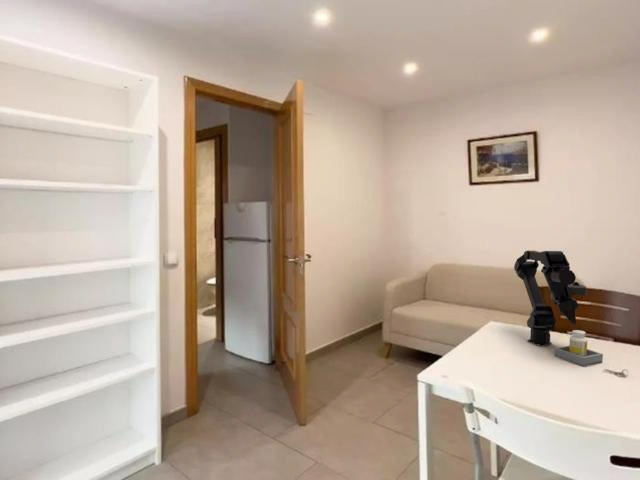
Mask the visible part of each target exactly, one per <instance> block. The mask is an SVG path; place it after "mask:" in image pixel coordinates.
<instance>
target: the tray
mask: <svg viewBox="0 0 640 480" xmlns="http://www.w3.org/2000/svg"><path fill="white" fill-rule="evenodd" d="M569 347H570V344H569V345H565V346H559V347H555V348H554V357H556V358H558V359H562V360H564V361H567V362H570V363H573V364H575V365H577V366H580V367H587V366H592V365H597V364H601V363H603V359H604V356H603V355H604V354H603V353H602V352H598V351H594V350H591V349H589V348H587V356H585V357H581V356H578V355H575V354H573V353H570V352H569Z"/></svg>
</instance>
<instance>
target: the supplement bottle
mask: <svg viewBox="0 0 640 480" xmlns="http://www.w3.org/2000/svg"><path fill="white" fill-rule="evenodd" d="M571 332H572V333H571V336H570V337H569V345H570V347H569V352H570V353H573V354H575V355H578V356H581V357H585V356H587V349H588V339H587V338H586V331H584V330H578V329H573V330H572V331H571Z"/></svg>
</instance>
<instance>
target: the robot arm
mask: <svg viewBox="0 0 640 480" xmlns="http://www.w3.org/2000/svg"><path fill="white" fill-rule="evenodd" d="M539 262H540V264H542V269H541V270H540V273H543V276H544V279H545V281H546V283H547V286H548V287H547V288H548V290H550V292H551V294H550V298H551V301H552V302H553V303H554V304H555V305H556V307H557V308H558V310H559V312H561V313H562V315H564V316H565V318H567V320H568V321H570V323H571V324H573V325H577V319H576V318H577V317H576V310H577V308H578V307H579V304H578V301H577V300H576V299H575V298H573V297H574V296H582V297H587V287H586V286H585V285H583V284H580V283H579V282H578V281H576V279H577V277H576V275H575V273H574V271H572V270H571V266H570V262H569V261H568V259H567V257H566V255H565V253H564V251H562V250H542V251H538V250H525V251H524V252H523V254H522V255H521V256H519V257H518V258H516V261H515V263H514V267H513V268H514V271H515V273H516V276H517V277H518V278H520V279H521V280H522V281H523V284H524V287H525V290H526V293H527V296H528V299H529V302H530V304H531V308H532V309H531V311H530V314H529V317H528V319H527V320H526V325H527V328H529V329H530V337H529V339H527V342H529V343H532V344H535V345H537V346H540V347H542V346H548V345H552V343H553V342H551V333H550V331H554V329H555V326H556V323H557V320H556V316H555V313H554V310H553V308H552V306H551V305H546V304H545V302H544V299H543V295H542V293H541V290H540V287H539V284H538V281H537V279H536V274H537V272H538V268H539V265H540V264H539Z"/></svg>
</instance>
